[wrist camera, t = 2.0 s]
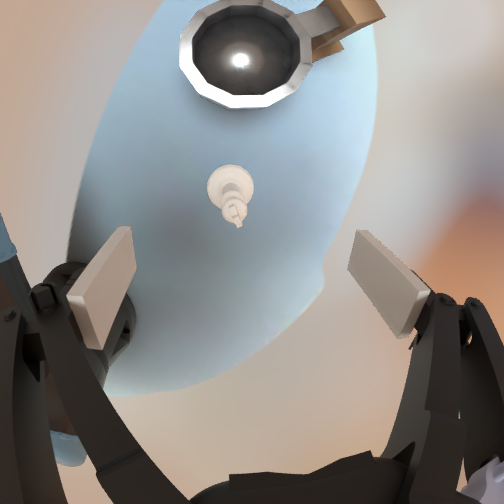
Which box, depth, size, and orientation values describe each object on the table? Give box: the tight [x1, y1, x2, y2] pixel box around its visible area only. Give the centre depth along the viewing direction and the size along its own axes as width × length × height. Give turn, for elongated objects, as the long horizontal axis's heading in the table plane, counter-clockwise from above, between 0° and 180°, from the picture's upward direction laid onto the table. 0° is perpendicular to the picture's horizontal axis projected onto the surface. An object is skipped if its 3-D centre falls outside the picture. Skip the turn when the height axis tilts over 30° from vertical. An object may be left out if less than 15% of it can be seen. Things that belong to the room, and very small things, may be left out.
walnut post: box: [311, 0, 386, 62], centre depth 16 cm, size 5×5×12 cm
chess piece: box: [207, 165, 254, 228], centre depth 24 cm, size 5×5×10 cm
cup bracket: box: [180, 0, 342, 110], centre depth 15 cm, size 14×9×3 cm, turn 121°
